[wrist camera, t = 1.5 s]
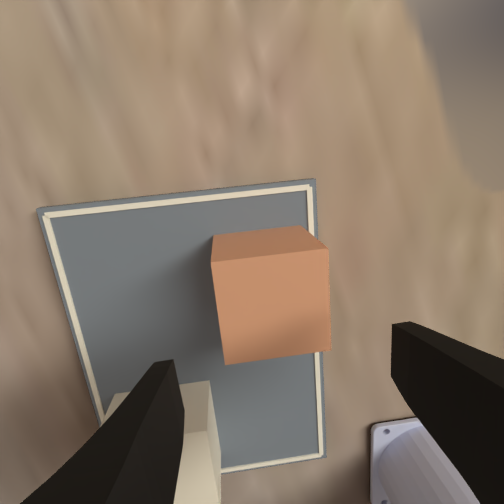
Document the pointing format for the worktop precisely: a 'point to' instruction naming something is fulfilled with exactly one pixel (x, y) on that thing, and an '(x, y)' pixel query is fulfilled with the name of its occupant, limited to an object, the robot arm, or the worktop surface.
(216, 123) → the worktop surface
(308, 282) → the terracotta block
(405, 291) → the worktop surface
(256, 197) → the board
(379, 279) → the worktop surface
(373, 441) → the robot arm
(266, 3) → the worktop surface
